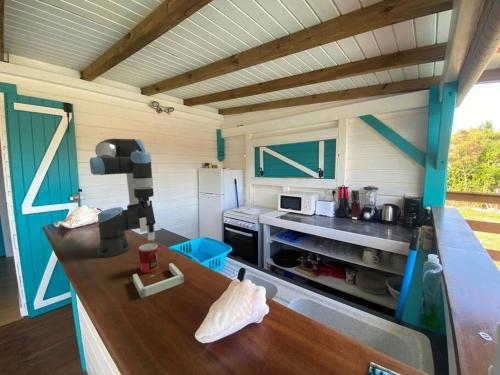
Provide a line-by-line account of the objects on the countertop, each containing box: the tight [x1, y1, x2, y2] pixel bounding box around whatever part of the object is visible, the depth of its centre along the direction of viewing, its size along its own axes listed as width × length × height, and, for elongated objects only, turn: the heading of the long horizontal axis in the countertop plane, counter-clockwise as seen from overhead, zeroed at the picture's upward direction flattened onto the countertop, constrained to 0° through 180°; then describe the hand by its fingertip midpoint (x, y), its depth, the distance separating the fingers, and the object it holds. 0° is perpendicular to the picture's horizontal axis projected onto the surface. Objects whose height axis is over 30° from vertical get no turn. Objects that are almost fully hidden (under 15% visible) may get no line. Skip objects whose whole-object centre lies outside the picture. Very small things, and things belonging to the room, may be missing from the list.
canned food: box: [138, 242, 160, 274], centre depth 98 cm, size 8×8×11 cm
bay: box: [132, 262, 185, 299], centre depth 88 cm, size 14×16×3 cm
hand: (147, 235), depth 97 cm, fingers open, 13 cm apart
